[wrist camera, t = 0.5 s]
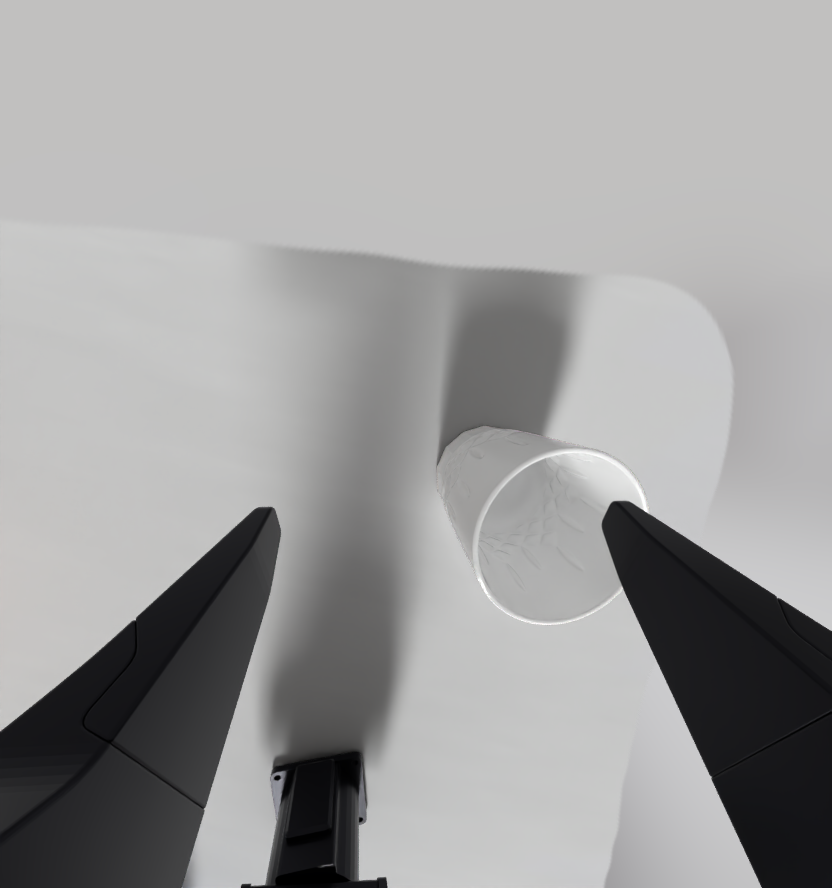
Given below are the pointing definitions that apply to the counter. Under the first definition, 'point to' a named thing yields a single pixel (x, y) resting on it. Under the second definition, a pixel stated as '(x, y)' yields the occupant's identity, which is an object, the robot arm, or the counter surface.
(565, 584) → the white cup
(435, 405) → the counter surface
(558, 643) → the counter surface
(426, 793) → the counter surface
